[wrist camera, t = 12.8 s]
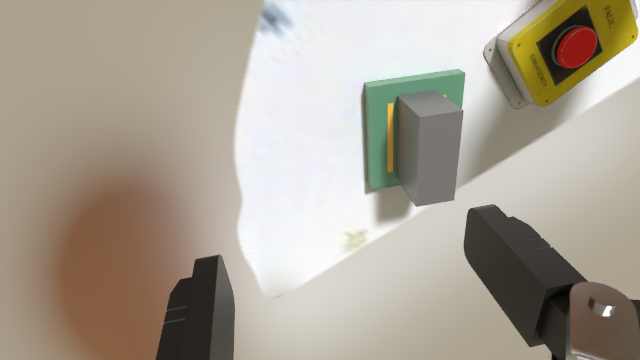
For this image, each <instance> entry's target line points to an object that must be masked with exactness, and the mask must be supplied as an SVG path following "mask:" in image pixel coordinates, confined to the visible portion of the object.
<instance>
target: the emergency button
mask: <svg viewBox="0 0 640 360" xmlns="http://www.w3.org/2000/svg"><path fill="white" fill-rule="evenodd" d="M637 18H638V11H637V7H636V4H635V0H540V1H539V2H537V3H536V4H535V5H534V6H533V7H531V8H530V9H529V10H528V11H526V12H525V13H524V14H523V15H521V16H520V17H519V18H518V19H516V20H515V21H514V22H513V23H511V24H510V25H509V26H508V27H506V28H505V29H504V30H503V31H501V32H500V33H499V34H498V35H496V36H495V37H494V38H493V39H491V40H490V41H489V42H488V43H487V44H486V46H485V48H484V51H483V52H484V57H485V58H486V60H487V62H488V64H489V66H490V68H491V69H492V71H493V73H494V75H495V77H496V78H497V80H498V82H499V84H500V86H501V88H502V89H503V91H504V93H505V95H506V97H507V98H508V100H509V102H510V104H511V106H512V107H513V108H515V109H520V108H522V107H524V106H525V105H527V104H528V103H529V102H531V103H534V104H536V105H539V106H547V105H549V104H551V103H552V102H553V101H555V100H556V99H557V98H559V97H560V96H561V95H563V94H564V93H566V92H567V91H568V90H570V89H571V88H572V87H574V86H575V85H576V84H578V83H579V82H581V81H582V80H583V79H585V78H586V77H587V76H589V75H590V74H591V73H593V72H594V71H595V70H597V69H598V68H600V67H601V66H602V65H604V64H605V63H606V62H608V61H609V60H610V59H612V58H613V57H615V56H616V55H617V54H619V53H620V52H621V51H623V50H624V49H625V48H627V47H628V46H630V45H631V44H632V43H633V42H634V41H635V40H636V39H637V36H638V28H637V25H636V19H637Z"/></svg>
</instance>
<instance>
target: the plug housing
mask: <svg viewBox="0 0 640 360" xmlns="http://www.w3.org/2000/svg"><path fill="white" fill-rule="evenodd" d="M462 120H463V110H462V109H461V108H459V107H458V106H457V105H455V104H454V103H453V102H451V101H450V100H448V99H447V98H446V97H444V96H443V95H442V94H440V93H439V92H437V91H436V90H431V91H424V92H417V93H411V94H404V95H397V146H396V178H397V179H398V181H399V182H400V184H401V185H402V187H403V188H404V190H405V191H406V193H407V194H408V196H409V197H410V199H411V200H412V202H413V203H414V205H415V206H416V207H418V206H423V205H429V204H435V203H440V202H446V201H452V200H454V194H455V186H456V176H457V167H458V157H459V148H460V138H461V129H462Z"/></svg>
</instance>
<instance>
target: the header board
mask: <svg viewBox="0 0 640 360" xmlns="http://www.w3.org/2000/svg"><path fill="white" fill-rule="evenodd" d="M464 81H465V73H464V72H463V71H461V70H459V69H456V70H449V71H442V72H435V73H428V74H422V75H415V76H408V77H401V78H394V79H387V80H381V81H374V82H367V83H365V109H366V138H367V166H368V184H369V186H370V188H371V189H372V190H373V189H379V188H384V187H390V186H396V185H401V184H400V182H399V181H398V179H397V178H396V146H397V95H404V94H411V93H417V92H424V91H431V90H436V91H437V92H439V93H440V94H442V95H443V96H444V97H446V98H447V99H448V100H450V101H451V102H453V103H454V104H455V105H457V106H458V107H459V108H461V109H462V100H463V90H464Z"/></svg>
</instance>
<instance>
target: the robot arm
mask: <svg viewBox="0 0 640 360" xmlns="http://www.w3.org/2000/svg"><path fill="white" fill-rule="evenodd" d="M464 251H465V256H466V258H467V260H468V262H469V264H470V265H471V267H472V268H473V270H474V271H475V272H476V274H477V275H478V276H479V278H480V279H481V281H482V282H483V283H484V285H485V286H486V288H488V290H489V292H490V293H491V294H492V296H493V297H494V299H495V300H496V301H497V303H498V304H499V305H500V307H501V308H502V310H503V311H504V312H505V314H506V315H507V317H508V318H509V319H510V321H511V322H512V323H513V325H514V326H515V328H516V329H517V330H518V332H519V333H520V335H521V336H522V337H523V339H524V340H525V341H526V342H527V344H528V345H529V347H533V346H537V345H542V344H545V345H546V346H547V347H548V349H549V350H550V353H549V356H548V360H640V300H631V299H629V298H628V297H626V296H625V295H624V294H623V293H621V292H620V291H618V290H617V289H614V288H612V287H610V286H608V285H605V284H601V283H597V282H588V281H587V280H586V279H585V278H584V277H583V276H582V275H581V274H580V273H579V272H578V271H577V270H576V269H574V267H572V266H571V265H570V264H569V263H568V262H567V261H566V260H565V259H564V258H563V257H562V256H561V255H560V254H559V253H558V252H557V251H556V250H555V249H554V248H551V247H550V245H549V244H548V243H547V242H546V241H545V240H544V239H543V238H542V239H541V236H540V235H539V234H538V233H537V232H536V231H535V230H534V229H533V228H532V227H531V226H530V225H528V224H526V223H524V222H522V221H521V220H519V219H517V218H515V217H507V216H506V215H505V214H504V213H503V212H502V211H501V210H500V209H499V208H498V207H497V206H496V205H493V204H491V205H487V206H481V207H476V208H471V209H469V211H468V214H467V222H466V230H465V238H464ZM234 318H235V304H234V296H233V291H232V287H231V284H230V281H229V277H228V274H227V271H226V268H225V265H224V261H223V258H222V256H221V255H215V256H210V257H204V258H199V259H196V260H195V263H194V269H193V275H192V277H190V278H185V279H180V280H179V282H178V283H177V285H176V286H175V288H174V289H173V291H172V292H171V293H170V297H169V302H168V306H167V312H166V315H165V320H164V323H165V324H164V325H163V329H162V334H161V338H160V343H159V347H158V352H157V356H156V360H233V352H234V351H233V350H234Z"/></svg>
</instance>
